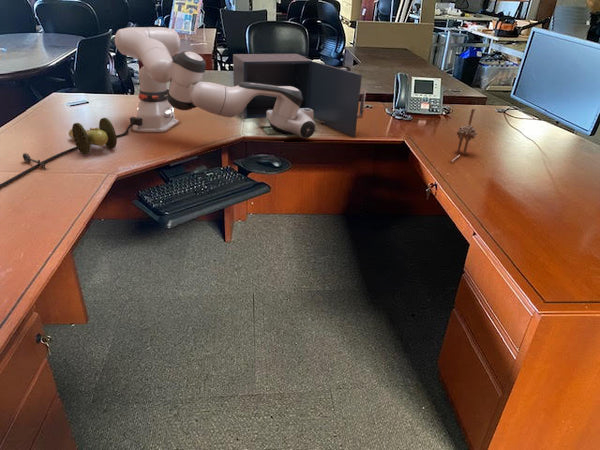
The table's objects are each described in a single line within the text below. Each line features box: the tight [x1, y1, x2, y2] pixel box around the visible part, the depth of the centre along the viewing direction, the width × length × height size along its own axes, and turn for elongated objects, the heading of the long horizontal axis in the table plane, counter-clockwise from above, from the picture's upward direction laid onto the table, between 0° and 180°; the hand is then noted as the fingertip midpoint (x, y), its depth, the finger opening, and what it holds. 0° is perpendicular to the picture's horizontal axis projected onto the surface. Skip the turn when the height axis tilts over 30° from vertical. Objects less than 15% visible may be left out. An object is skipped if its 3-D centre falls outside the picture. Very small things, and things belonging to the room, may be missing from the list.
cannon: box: [68, 117, 118, 156], centre depth 165 cm, size 25×12×11 cm, turn 48°
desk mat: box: [261, 125, 317, 136], centre depth 202 cm, size 18×22×1 cm
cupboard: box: [232, 53, 313, 120], centre depth 213 cm, size 20×32×26 cm, turn 111°
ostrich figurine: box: [451, 107, 478, 163], centre depth 173 cm, size 17×7×18 cm, turn 144°
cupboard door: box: [309, 60, 367, 138], centre depth 200 cm, size 7×32×26 cm, turn 36°
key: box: [22, 152, 46, 170], centre depth 149 cm, size 12×1×3 cm, turn 58°
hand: (284, 109), depth 200 cm, fingers closed on steel tumbler, 6 cm apart
